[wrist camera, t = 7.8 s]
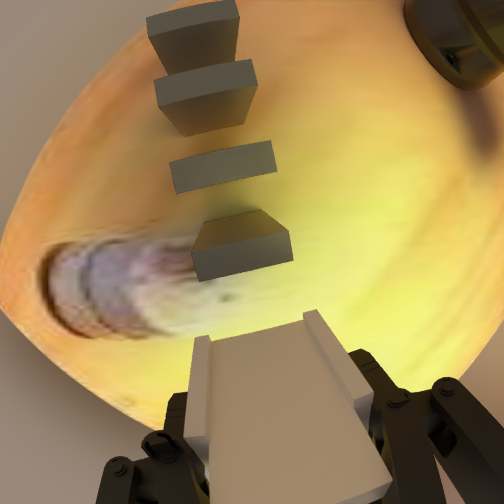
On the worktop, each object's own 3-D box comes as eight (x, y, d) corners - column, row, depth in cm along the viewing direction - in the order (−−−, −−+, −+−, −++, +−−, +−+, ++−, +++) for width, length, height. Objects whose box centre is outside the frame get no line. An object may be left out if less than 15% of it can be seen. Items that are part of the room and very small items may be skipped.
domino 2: (182, 119, 21) (154, 80, 11) (239, 107, 21) (251, 59, 11) (185, 136, 21) (158, 106, 11) (243, 123, 21) (257, 85, 12)
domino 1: (173, 74, 19) (146, 17, 10) (229, 62, 20) (234, -1, 10) (176, 89, 20) (148, 37, 10) (233, 77, 20) (239, 17, 10)
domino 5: (211, 341, 14) (210, 525, 4) (303, 319, 14) (393, 480, 4) (219, 363, 14) (227, 535, 5) (306, 343, 14) (384, 496, 5)
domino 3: (192, 170, 22) (169, 162, 12) (250, 157, 22) (270, 140, 12) (196, 188, 22) (176, 194, 13) (254, 175, 22) (277, 171, 13)
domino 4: (204, 222, 23) (190, 252, 13) (261, 209, 23) (288, 230, 14) (208, 240, 23) (199, 281, 14) (265, 227, 24) (293, 260, 14)
